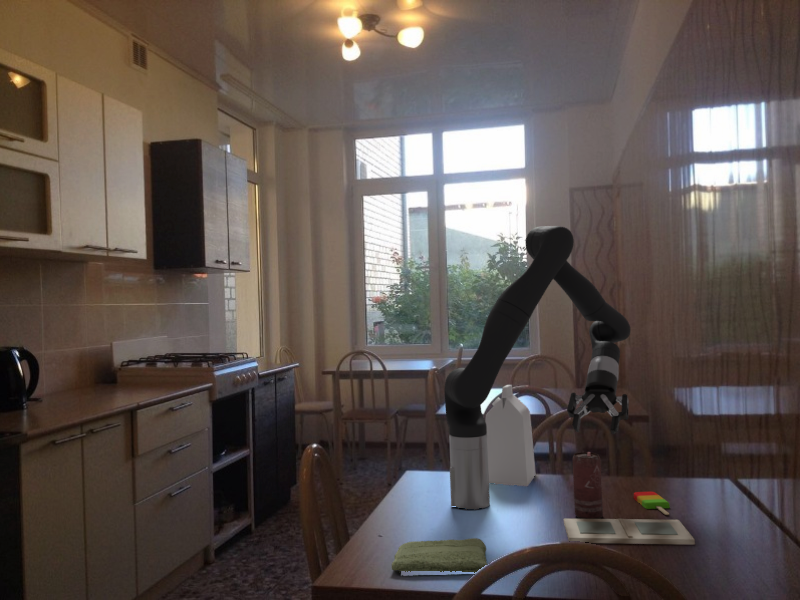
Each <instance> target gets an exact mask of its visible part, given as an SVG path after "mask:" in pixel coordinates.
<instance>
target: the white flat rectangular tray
mask: <svg viewBox="0 0 800 600" xmlns="http://www.w3.org/2000/svg"><path fill="white" fill-rule="evenodd" d="M563 525H564V529H565V531H566V536H567V538H568V539H567V540H568V542H569V541H580V542H589V543H588V544H631V545H633V544H634V545H635V544H636V545H638V544H639V545H643V544H644V545H696V540H695V538H694V536H692V534H691V533H690V532H689V531H688V529H687V528H686V527H685V526H684V525H683V523H682V522H681V521H680V519H654V518H653V519H650V518H649V519H640V518H639V519H638V518H636V519H635V518H633V519H632V518H631V519H630V518H629V519H628V518H616V519H615V518H600V519H579V518H563Z"/></svg>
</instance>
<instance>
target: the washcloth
mask: <svg viewBox="0 0 800 600" xmlns="http://www.w3.org/2000/svg"><path fill="white" fill-rule="evenodd" d="M486 551H487V546H486V544H485V542H484V541H483V540H482V539H480V538H478V537H471V538H466V539H441V540H426V541H425V540H424V541H423V540H420V541H419V540H418V541H409V542H405V543H402V544H401V545H400V546H399V547H398V550H397V551H396V553H395V554H394V560H393V561H392V563H391V570H392V571H396V570H399V572H400V571H405V572H406V571H407V572H408V571H410V572H411V571H440V572H442V571H443V572H444V571H450V572H452V571H455V572H456V571H462V572H474V573H475V572H477V571H478V570H479V569H481V568H482V567H484V566H485V565H488V561H487V557H486Z"/></svg>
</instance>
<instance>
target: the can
mask: <svg viewBox="0 0 800 600" xmlns="http://www.w3.org/2000/svg"><path fill="white" fill-rule="evenodd" d="M601 462H602V461H601V457H600V456H599V454H598V453H596V452H591V451H585V452H584V451H582V452H581V451H580V452H575V453H574V454H573V456H572V477H573V478H572V479H573V480H572V481H573V499H574V500H573V501H574V504H573V505H574V514H575V516H576V518H577V519H603V516H604V512H603V511H604V509H603V508H604V507H603V488H602V487H603V486H602V484H603V483H602V469H601V468H602V465H601V464H602V463H601Z"/></svg>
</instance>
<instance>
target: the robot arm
mask: <svg viewBox="0 0 800 600" xmlns="http://www.w3.org/2000/svg"><path fill="white" fill-rule="evenodd" d="M574 241H575V240H574V236H573V233H572V231H571V230H570V229H569V228H567V227H565V226H560V225H546V226H545V225H542V226H541V225H540V226H536V227H534V228H532V229H531V230H529V232H528V233H527V235H526V238H525V249H526V251H527V254H528V255H529V256H530V257H531V259H533V260H532V262H531V264H530V265H529V267H528V268H526V270H525V271H524V272H523V273H522V274H521V275H520V276H519V277H518V278H517V279H516V280H514V281H513V282H512V283H511V284H510V285H508V286H507V287H506V289H504V290H503V291H502V293H501V294H500V295H499V297H498V298H497V299H496V301H495V302H494V304H493V306H492V308H491V310H490V311H489V314H488V315H487V317H486V321H485V323H484V327H483V331H482V335H481V339H480V343H479V345H478V348H477V349H476V351H475V353H474V354H473V356H472V358H471V359H470V360H469V362H468V363H467V365H466V367H459V368H455V369H453V370H452V371H451V372H450V373H448V375H447V377H446V379H445V382H444V403H445V404H444V406H445V417H446V422H447V426H448V434H449V435H448V436H449V438H448V439H449V458H450V461H449V465H450V467H449V483H450V484H449V485H450V486H449V488H450V489H449V490H450V507H451V506H456V507H459V508H466V509H465V510H467V509H474V510H480V509H479V508H482V509H484V508H488V507H489V506H490V502H491V500H490V498H491V497H490V484H489V472H488V448H487V426H486V422H485V417H484V415H483V411H482V404H483V403H484V402H485V401H486V400H487V398H488V397H489V395H490V393H491V390H492V388H493V387H494V384H495V381H496V379H497V377H498V375H499V373H500V370H501V368H502V366H503V364H504V362H505V361H506V359H507V357H508V356H509V354H510V352H511V351H512V349H513V347H514V345H515V344H516V343H517V340H518V339H519V337H520V336H521V334H522V333H523V332H524V329H525V327H526V326H527V324H528V322H529V321H530V319H531V317H532V316H533V313H534V311H535V310H536V308H537V306H538V305H539V303H540V301H541V300H542V298H543V296H544V294H545V293H546V291H547V289H548V288H549V286H550V284H551V283H552V281H553V280H554V282H556V284H557V285H558V286H559V287H560V288H561V289H562V290H563V292H564V293H565V294H566V295H567V297H568V298H569V299H570V301H572V303H573V304H574V306H575V307H576V309H577V310H578V312H579V313H580V314H581V316H582V317H583V319H585V320H586V321H588V322H592V323H591V325H590V326H589V330H588V333H589V337H590V343H591V350H592V351H591V357H590V362H589V363H590V364H589V366H588V369H587V374H586V380H585V381H586V382H585V387H584V393H583V394H582V395H579V394H576V393H575V392H571V394H570V397H569V401H568V405H567V408H566V411H567V414H568V417H569V418H573V419H572V423H571V424H572V428H573V430H574V431H575V432H576V433H580V429H581V428H580V427H581V423H582V421H581V420H582V418H584V417H585V416H587V415H588V414H590V413H600V414H605V413H606V412H607V413H608V415H610V417H611V422H610V432H611V434H612V435H615V434H616V433H617V432H618V431H619V427H620V421H621V420H622V421H623V420H625V421H627V420H629V411H630V410H629V406H630V405H629V404H630V401H629V397H628V394H626V393H624V394H622V395H621V396H617V390H618V384H619V383H618V381H619V373H620V370H619V365H620V357H621V350H620V347H619V346H618V344H616V343H618V342H623V341H625V340H627V339H628V338H629V337H630V335H631V326H630V323H629V321H628V320H627V318H626V317H625V316H624V315H623V314H622V313H621V312H619V311H618V310H617V309H616V308H614V307H613V306H612V305H610V304H609V303H608V302H607V301H606V300H605V299H604V297H603V295H602V294H601V292H599V290H598V289H597V288H596V286H595V285H594V284H593V283H592V282H591V281H590V280H589V279H588V278H587V277H586V276H584V275H583V274H582V273H581V272H580V271H578V270H577V269H576V268H575V267H574V266H573V265H571V264H570V263H569V261H568V259H569V257H570V256H571V255H572V251H573V248H574V244H575V242H574ZM617 403H619V405H620V406H621V411H619V412H618V411H617V409H616V408H615V406H616V404H617ZM577 405H578V406H579V407H578V408H577ZM459 508H458V509H459Z"/></svg>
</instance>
